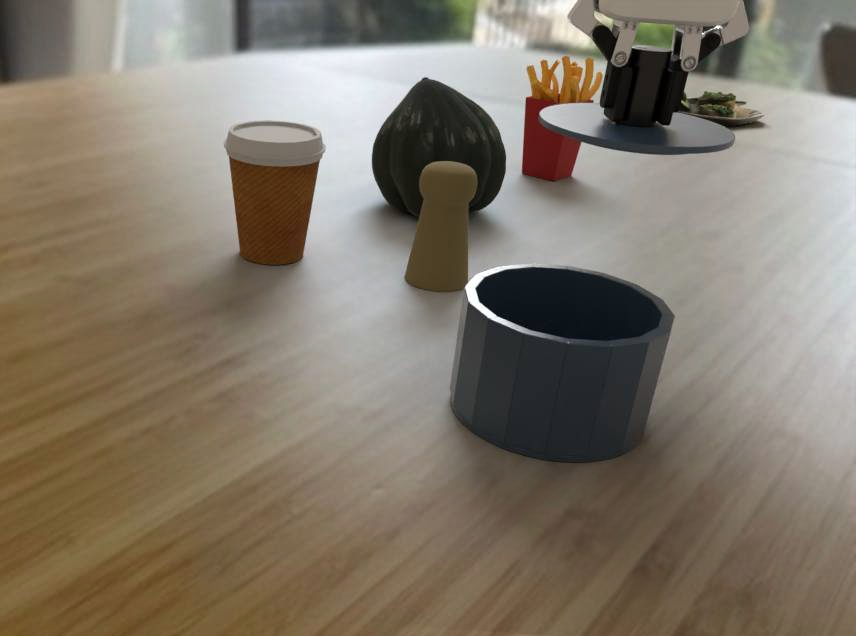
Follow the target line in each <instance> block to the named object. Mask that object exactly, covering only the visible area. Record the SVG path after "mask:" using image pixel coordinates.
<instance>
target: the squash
mask: <svg viewBox="0 0 856 636" xmlns="http://www.w3.org/2000/svg"><path fill="white" fill-rule="evenodd" d="M375 136H376V137H375V139H374V141H373V145H372V153H371V170H372V175H373V178H374V181H375V183H376V185H377V187H378V189H379V192H380V193H381V195H382V197H383V198H384V200H385V201H386V203H387V204H388V205H389V206H390V207H391V208H393V209H395V210H396V211H398V212H402V213H410V214H411V215H412V216H414V217H417V218H419V216H420V212H421V208H422V204H423V200H424V198H423V196H422V194H421V193H420V188H419V181H420V176H421V174H422V171H423V169H424V168H425V167H426V166H427V165H429V164H431V163H433V162H439V161H452V162H458V163H462V164H465V165H468V166H470V167H471V168H472V169H473V170H474V171H475V173H476V175H477V182H478V183H477V190H476V193H475V195H474V198H473V199H472V200H471V201H470V202H469V203H468V214H473V213H477V212H479V211H481V210H483V209H485V208H487V207H488V206H489V205H490V204H491V203H493V202H494V201H495V199H496V198H497V196H498V195H499V193H500V192H501V189H502V187H503V183H504V180H505V176H506V170H507V153H506V148H505V144H504V141H503V139H502V135H501V132H500V129H499V127H498V126H497V124H496V122H495V121H494V120H493V118H492V116H491V115H490V114H489V113H488V112H487V111H486V110H485V109H484V108H483V107H482V106H481V105H480V104H478V103H477V102H475V101H474V100H472V99H471V98H469V97H468V96H466V95H464V94H463V93H462V92H460V91H458V90H456V89H455V88H453V87H451V86H449V85H447V84H445V83H443V82H441V81H439V80H436V79H431V78H429V77H426V76H424V77H422V78H421V80H419V81H418V82H416V83H415V84H414V85H413V86H412V87H411V88H410V89H409V91H408V92H407V93H406V94H405V96H404V97H403V98H402V100H401V101H400V102H399V103H398V104H397V106H396V107H395V108H394V109H393V111H392V112H391V113H390V114H389V115H388V116H387V118H386V119H385V120H384V121H383V123H382V124H381V126H380V128H379V130H378V132H377V134H376V135H375Z"/></svg>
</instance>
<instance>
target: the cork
mask: <svg viewBox="0 0 856 636" xmlns="http://www.w3.org/2000/svg"><path fill="white" fill-rule="evenodd" d="M477 183H478V182H477V175H476V173H475V171H474V170H473V169H472V168H471V167H470V166H468V165H465V164H462V163H458V162H452V161H439V162H433V163H431V164H429V165H427V166H426V167H425V168H424V169H423V171H422V174H421V176H420V181H419V188H420V193H421V194H422V196H423V198H424V200H423V204H422V208H421V212H420V216H419V217H418V220H417V225H416V229H415V233H414V237H413V241H412V244H411V245H412V246H411V249H410V253H409V257H408V262H407V265H406V270H405V274H404V279H405V281H406V282H407V283H409V285H411V286H413V287H415V288H419V289H422V290H425V291H430V292H439V293H440V292H446V293H447V292H456V291H460V290H464V287H465V285H466V284H467V283H468V282H469V213H468V203H469V202H470V201H471V200H472V199H473V198H474V195H475V193H476V190H477Z"/></svg>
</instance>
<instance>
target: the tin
mask: <svg viewBox="0 0 856 636" xmlns="http://www.w3.org/2000/svg"><path fill="white" fill-rule="evenodd" d="M675 318H676V315H675V313H674V312H673V311H672V310H671V308H670V307H669V306H668V304H667V303H666V302H665V300H664V299H663V298H661V297H659V296H658V295H657V294H655V293H653V292H651V291H650V290H647V289H646V288H644V287H642V286H641V285H639V284H637V283H634V282H631V281H629V280H626V279H623V278H621V277H617V276H614V275H611V274H608V273H606V272H601V271H596V270H593V269H586V268H581V267H577V266H571V265H563V264H550V263H549V264H548V263H532V262H530V263H521V264H509V265H501V266H500V265H499V266H495V267H492V268H490V269H486V270H484V271H481V272H477V273H476V274H474V275H473V276H472V278H470V280H468V283H467V284H466V285H465V287H464V288H463V294H462V300H461V306H460V313H459V321H458V329H457V334H456V336H457V337H456V342H455V349H454V357H453V362H452V363H453V364H452V371H451V377H450V383H449V391H450V397H449V398H450V401H449V402H450V406H451V410H452V411H453V413H454V415H455V416H456V418H457V420H459V422H461V424H462V425H463V426H464V427H466V428H467V429H468V430H469V431H470V432H472V433H473V434H475V435H476V436H477V437H479V438H481V439H483V440H484V441H486V442H488V443H490V444H493V445H494V446H496V447H499V448H502V449H503V450H507V451H509V452H512V453H515V454H519V455H522V456H525V457H530V458H534V459H539V460H544V461H545V460H546V461H552V462H561V463H592V462H599V461H605V460H610V459H614V458H616V457H619V456H623V455H624V454H626V453H628V452H630V451H632V449H634V448H635V447H636V446H637V445H638V444H639V443H640V442H641V440H642V439H643V437H644V434H645V429H646V427H647V423H648V419H649V415H650V410H651V407H652V404H653V400H654V397H655V392H656V388H657V385H658V382H659V377H660V374H661V370H662V366H663V362H664V359H665V355H666V351H667V347H668V344H669V340H670V336H671V333H672V329H673V325H674V322H675Z"/></svg>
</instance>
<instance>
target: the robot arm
mask: <svg viewBox="0 0 856 636" xmlns="http://www.w3.org/2000/svg"><path fill="white" fill-rule="evenodd" d="M595 12H596V13H599V14H602V15H603V16H605V17H606V18H608V19H611V20H612V22H611V26H610V28H609V27H608V26H607V25H606V24H604V23H602V22H601V21H600V20H598V19H597V18H596V17H595ZM567 22H568V23H569V24H570V25H572V26H574V27H575V28H576V29H577V30H579V31H581V32H582V33H583V34H584V35H586V36H587V37H589V38H590V39H591V40H592V42H593V43H594V44H595V46H596V47H597V49H598V50H599V52H600V53H601V54H602V56H603V58H604V59H605V60H606V61H607V62H606V67H605V72H604V77H603V80H602V87H601V92H600V96H599V103H600V107H601V108H604V115H605V116H606V117H607V118H608V119H609V120H610V121H611V122H619V121H622V119H623V115H624V111H625V106H626V102H627V97H628V92H629V88H630V83H631V79H632V74H633V70H632V69H631V68H630V67H629V63H630V58H629V56H630V52H631V49H632V46H634V42H635V39H636V36H637V33H638V29H639V26H640V23H641V24H643V23H644V24H655V25H673V32H672V41H671V48H670V50H672V56H671V60H670V64H669V69H668V73H667V77H666V81H665V86H664V90H663V94H662V98H661V103H660V107H659V111H658V115H657V120H656V121H657V122H658V123H660V124H661V125H667V126H669V125H670V123H671V120H672V115H673V113H677V112H678V111H679V109H680V106H681V101H682V97H683V93H684V92H685V89H686V85H687V80H688V78H689V77H688V76H689V72H692V71H695V69H696V67H697V66H698V64H699V63H700V62H702V61H703V60H704V59H705V58H707V57H709V55H711V54H712V53H713V52H714V51H715V50H717V49H718V48H719V47H721V46H723V45H724V46H725V45H727V44H729V43H732V42H734V41H736V40H738V39H741V38H742V37H745V36H747V35H748V33H749V31H750V24H749V19H748V15H747V11H746V7H745V2H744V0H576V2H575V3H574V5H573V6H572V8H571V9H570V11H569V12H568V14H567ZM704 27H712V28H709V29H708V30H706V29H705V30H704Z"/></svg>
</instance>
